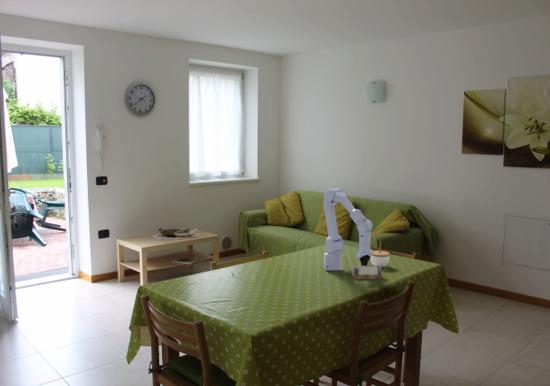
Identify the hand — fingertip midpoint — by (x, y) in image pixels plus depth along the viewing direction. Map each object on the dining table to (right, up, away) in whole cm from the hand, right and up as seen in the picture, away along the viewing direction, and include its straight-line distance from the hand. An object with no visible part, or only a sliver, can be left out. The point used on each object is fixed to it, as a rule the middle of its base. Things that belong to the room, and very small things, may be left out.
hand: (364, 269), depth 254 cm
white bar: (+1, -2, -2) cm, 3 cm away
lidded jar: (+12, -2, +20) cm, 23 cm away
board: (+1, -3, +2) cm, 4 cm away
